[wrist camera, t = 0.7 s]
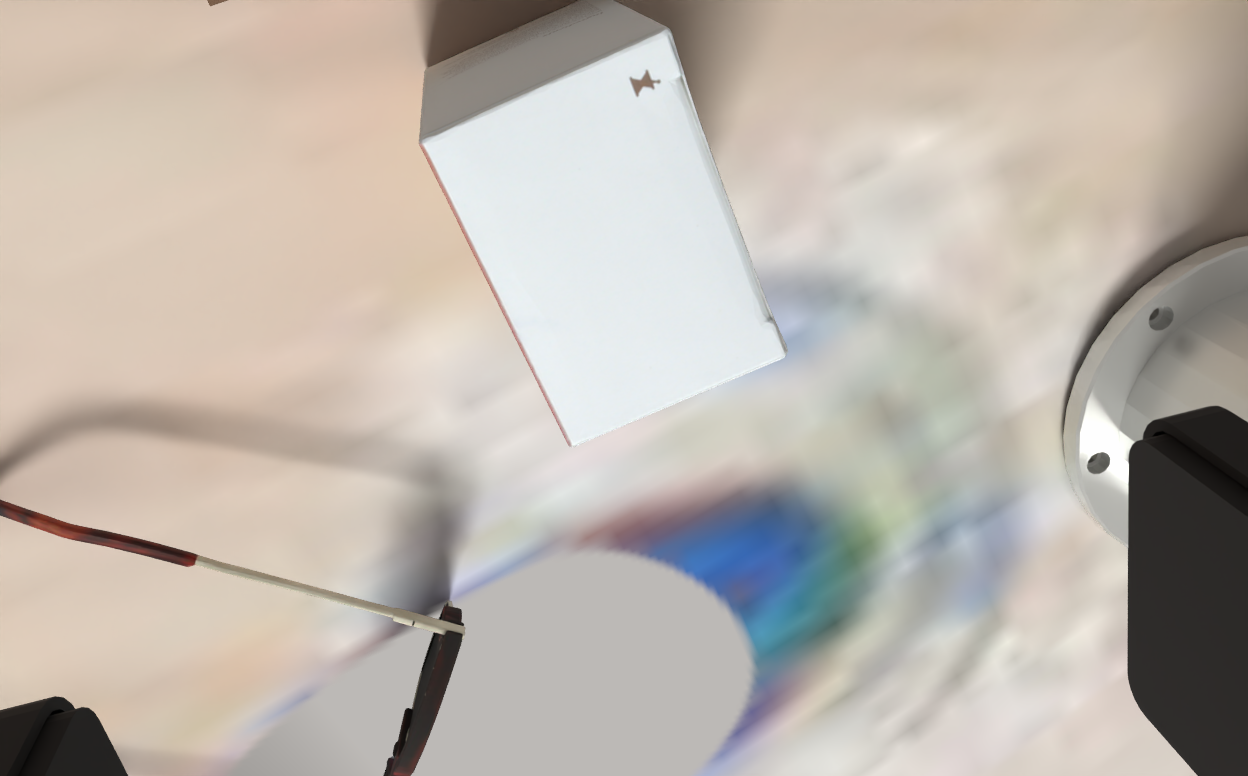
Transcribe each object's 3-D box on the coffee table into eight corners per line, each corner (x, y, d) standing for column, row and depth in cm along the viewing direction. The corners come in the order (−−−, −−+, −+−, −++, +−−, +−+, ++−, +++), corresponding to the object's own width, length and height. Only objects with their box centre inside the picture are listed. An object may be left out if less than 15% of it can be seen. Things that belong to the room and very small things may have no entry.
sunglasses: (368, 849, 42) (349, 959, 38) (-69, 760, 39) (-149, 869, 34) (472, 557, 38) (465, 642, 33) (-13, 429, 34) (-96, 503, 30)
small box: (421, 66, 31) (407, 130, 21) (601, -13, 31) (669, 15, 21) (535, 308, 34) (567, 459, 24) (697, 237, 34) (794, 361, 24)
